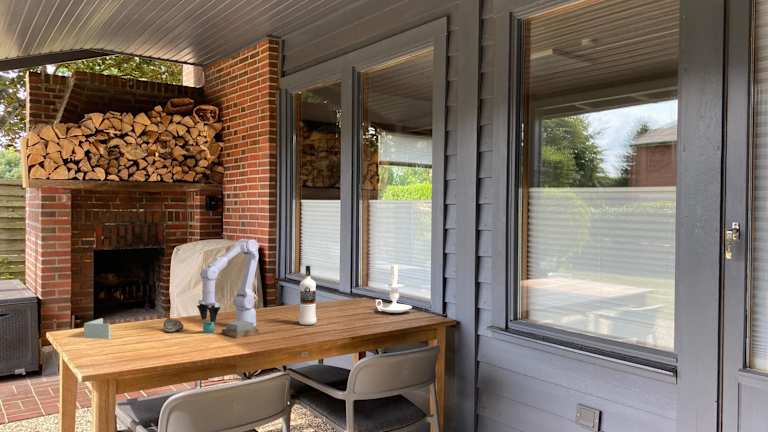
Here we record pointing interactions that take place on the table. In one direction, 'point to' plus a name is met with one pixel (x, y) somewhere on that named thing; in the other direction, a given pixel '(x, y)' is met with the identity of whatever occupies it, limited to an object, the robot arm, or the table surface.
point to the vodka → (307, 300)
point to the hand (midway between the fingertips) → (208, 320)
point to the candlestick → (393, 295)
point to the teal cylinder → (208, 327)
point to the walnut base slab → (239, 333)
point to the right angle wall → (97, 329)
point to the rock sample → (172, 325)
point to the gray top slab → (240, 325)
